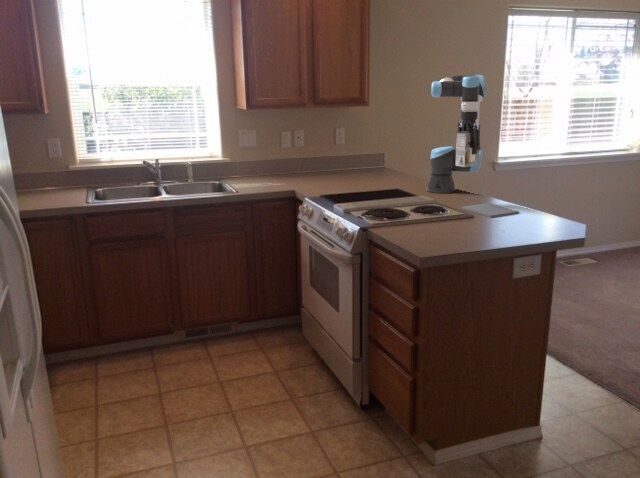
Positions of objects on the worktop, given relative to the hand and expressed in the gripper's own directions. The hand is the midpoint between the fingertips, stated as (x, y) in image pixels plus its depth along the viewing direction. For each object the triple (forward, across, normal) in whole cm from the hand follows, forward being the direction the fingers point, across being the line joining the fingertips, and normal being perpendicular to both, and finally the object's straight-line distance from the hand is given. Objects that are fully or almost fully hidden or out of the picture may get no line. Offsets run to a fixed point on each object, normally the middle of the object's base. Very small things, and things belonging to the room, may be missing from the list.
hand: (467, 160), depth 267 cm
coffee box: (+3, 0, 0) cm, 3 cm away
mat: (+21, +19, -1) cm, 28 cm away
